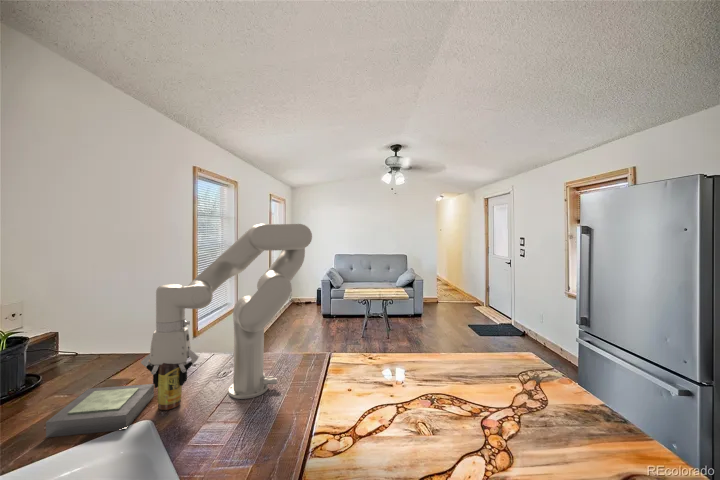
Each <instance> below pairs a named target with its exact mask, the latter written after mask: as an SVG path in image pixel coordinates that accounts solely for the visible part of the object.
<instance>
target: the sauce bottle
mask: <svg viewBox="0 0 720 480" xmlns="http://www.w3.org/2000/svg"><path fill="white" fill-rule="evenodd" d="M180 372H181V369H180V367H179V364H167V363H163V364H162V365H159V373H158V387H157V408H158V409H159V410H160V411H168V410H169V411H170V410H172V409H176V408H177V407H178V406H180V404H181V402H182V390H183V389H182V387H183V385H182V386H180Z"/></svg>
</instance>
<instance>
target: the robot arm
mask: <svg viewBox="0 0 720 480" xmlns="http://www.w3.org/2000/svg"><path fill="white" fill-rule="evenodd" d="M312 240H313V233H312V231H311V229H310V228H309V226H307V225H306V224H303V223H280V224H279V223H276V224H275V223H274V224H273V223H258V224H254V225H253V226H251V227H250V228H249V229H248V230H247V231H245V233H243V234H242V235H241V236H240V237H238V239H237V240H236V241H235V242H233V243H232V245H230V246H229V247H228V248H227V249H226V250H225V251H224V252H223V253H221V254H220V255H219V256H218V257H217V258H216V259H215V260H214V261H213V262H211V264H209V265H208V266H207V267H206V268H205V269H204V270H203V271H201V272H200V273H199V274H198V275H197V276H196V277H195V278H194V279H192V281H190V283H189V284H188V285H187V286H186V285H185V286H184V285H182V284H178V283H177V284H176V283H170V284H169V283H168V284H162V285H160V286H158V287H157V288H156V291H155V330H154V331H153V334H152V337H151V344H150V351H149V354H148V355H146V357H144V358H143V359H142V360H141V361H140V364H141V365H143V366H144V367H145V368H146V369H147V370H148V371H149V372H150V373H151V375H152V384H154V389H156V388H157V389H158V373H159V365H162V364H163V363H167V364H179V367H180V369H181V372H180V386H182V387H183V385H184V384H185V382H187V380H188V370H189V369H190V368H191V367H192V366H193V365H194V363H196V362H197V361H198V360H199V358H200V357H199V355H197V354H196V353H195V352H194V351H192V349H191V339H190V338H191V337H190V333H189V328H188V326H190V325H191V324H190V323H191V322H190V321H189V320H186V317H185V314H186V311H185V310H186V309H190V310H200V309H204V308H206V307H208V306H209V305H210V304H211V303H212V301H213V295H214V292H216V290H217V289H218V288H220V287H221V286H222V285H223V284H224V283H225V282H226V281H228V280H230V279H231V278H232V277H234V276H237V275H239V274H241V273H242V272H244V271H245V270H246V269H247V268H248V267H249V266H250V265H251V264H252V263H253V262H254V261H255V260H256V259H257V258H258V257H259V256H260V255H261V254H263V253H264V251H265V252H266V251H269V252H270V251H281V252H280V254H279V255H278V257H277V258H276V260H275V261H274V262H272V264H271V265H270V267H269V268H268V269H267V270H265V272H264V273H263V274H262V275H261V276H260V277H259V279H258V280H257V284H256V288H257V290H256V291H255V293H254V294H253V295H252V294H251V295H248V294H247V295H245V296H242V297H240V298H239V299H238V300H236V303H235V304H234V307H233V314H232V317H233V319H232V320H233V380H232V381H233V382H232V384H231V385H230V386H229V387H228V390H227V392H228V395H229V396H230V397H231V398H234V399H238V400H239V399H241V400H247V399H253V398H256V397H259V396H261V395H263V394H264V393H266V392H267V390H268V389H269V385H278V378H277V377H275V378H274V376H275V375H269V376H268V375H266V373H265V371H264V362H265V361H264V359H265V358H264V353H265V352H264V351H265V348H264V347H265V345H264V344H265V327H266V326H267V325H268V324H270V322H271V321H272V320H273V318H275V316H276V315H277V314H278V313H279V311H281V309H282V308H283V307H284V305H285V304H286V303H287V301H288V300H289V298H290V296H291V294H292V290H293V286H292V283H291V281H292V280H293V279H294V277H295V276H296V274H298V272H299V271H300V269H301V267H302V266H303V263H304V261H305V255H306V248H307V247H309V245H310V244H311V243H312ZM188 358H190V359H191V360H189V361H188V362H187V359H188Z"/></svg>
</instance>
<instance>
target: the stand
mask: <svg viewBox="0 0 720 480" xmlns="http://www.w3.org/2000/svg"><path fill="white" fill-rule="evenodd" d="M154 391H155V384H153V383H148V384H133V385H121V386H107V387H93V388H88V389H87V390H85V391H84V392H83V393H81V394H79V396H77V397H76V398H75V399H74V400H72V401H71V402H70V403H68V404H67V405H66V406H64V407H63V408H62V409H61V410H59V411H58V412H57V413H56V414H55V415H53V416H51V418H49V419H47V420H46V421H45V438H55V437H66V436H74V435H76V436H77V435H86V434H87V435H88V434H97V433H105V432H106V433H108V432H117V431H116V430H118V431H120V430H119V429H122V428H124V427H127V426H129V425H130V426H131V425H132V423H133V422H134V421H135V420H136V418H138V416H139V415H140V413H142V411H143V410H144V409H145V407H146V406H147V405H148V404H149V403H150V401H151V400H152V399H153V398H154V397H155V392H154ZM134 419H135V420H134ZM130 426H129V427H130Z"/></svg>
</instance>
